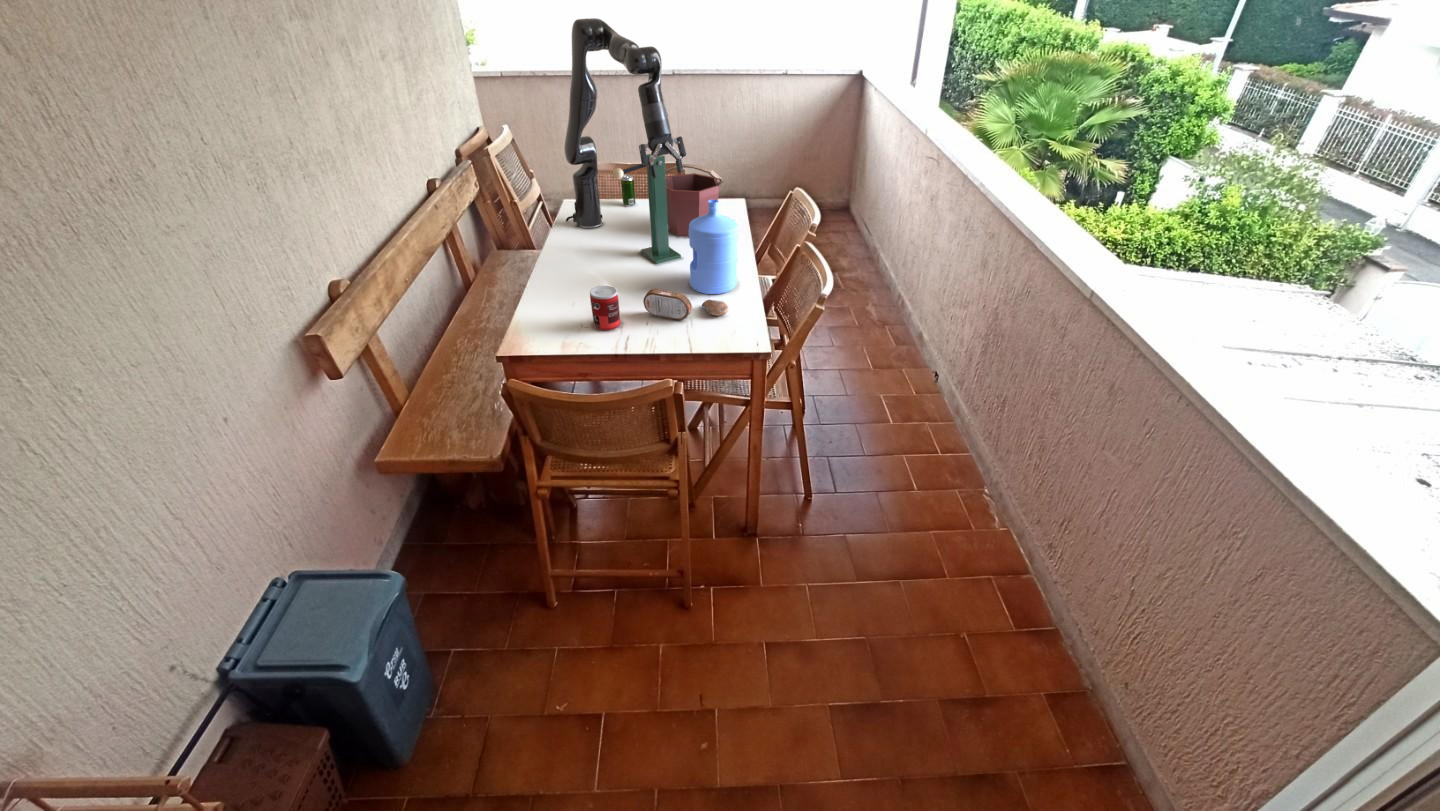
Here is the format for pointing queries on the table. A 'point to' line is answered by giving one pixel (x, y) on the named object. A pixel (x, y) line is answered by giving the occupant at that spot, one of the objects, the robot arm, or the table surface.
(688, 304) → the tin
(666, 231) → the green upright stand
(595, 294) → the canned food
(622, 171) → the lever
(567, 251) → the table surface
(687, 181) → the bucket
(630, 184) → the beer can
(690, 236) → the water jug
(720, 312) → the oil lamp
